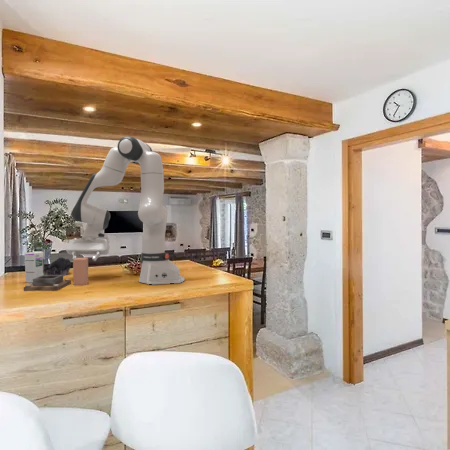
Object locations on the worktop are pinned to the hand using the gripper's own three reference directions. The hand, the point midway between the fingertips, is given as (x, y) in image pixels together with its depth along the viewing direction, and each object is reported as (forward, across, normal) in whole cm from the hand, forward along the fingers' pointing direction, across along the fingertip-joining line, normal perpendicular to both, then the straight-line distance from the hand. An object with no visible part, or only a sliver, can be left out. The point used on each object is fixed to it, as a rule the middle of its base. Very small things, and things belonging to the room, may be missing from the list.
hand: (84, 260), depth 155 cm
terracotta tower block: (+11, 0, +4) cm, 12 cm away
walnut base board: (+15, -12, 0) cm, 19 cm away
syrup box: (+7, -24, +9) cm, 26 cm away
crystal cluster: (-6, -22, +21) cm, 31 cm away
